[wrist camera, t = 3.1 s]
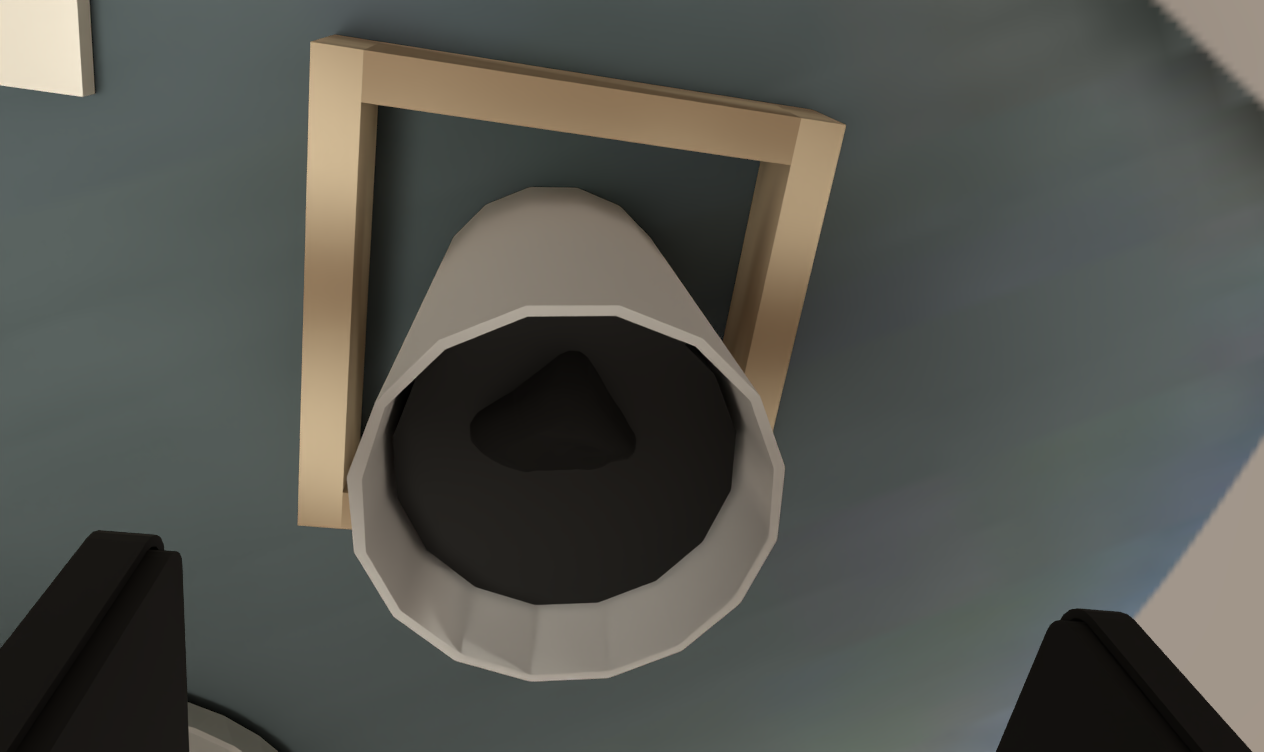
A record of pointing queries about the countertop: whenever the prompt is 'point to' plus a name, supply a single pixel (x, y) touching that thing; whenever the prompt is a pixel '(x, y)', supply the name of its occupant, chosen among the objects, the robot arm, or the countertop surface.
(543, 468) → the drinking glass
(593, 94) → the wooden frame
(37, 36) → the coaster
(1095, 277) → the countertop surface
